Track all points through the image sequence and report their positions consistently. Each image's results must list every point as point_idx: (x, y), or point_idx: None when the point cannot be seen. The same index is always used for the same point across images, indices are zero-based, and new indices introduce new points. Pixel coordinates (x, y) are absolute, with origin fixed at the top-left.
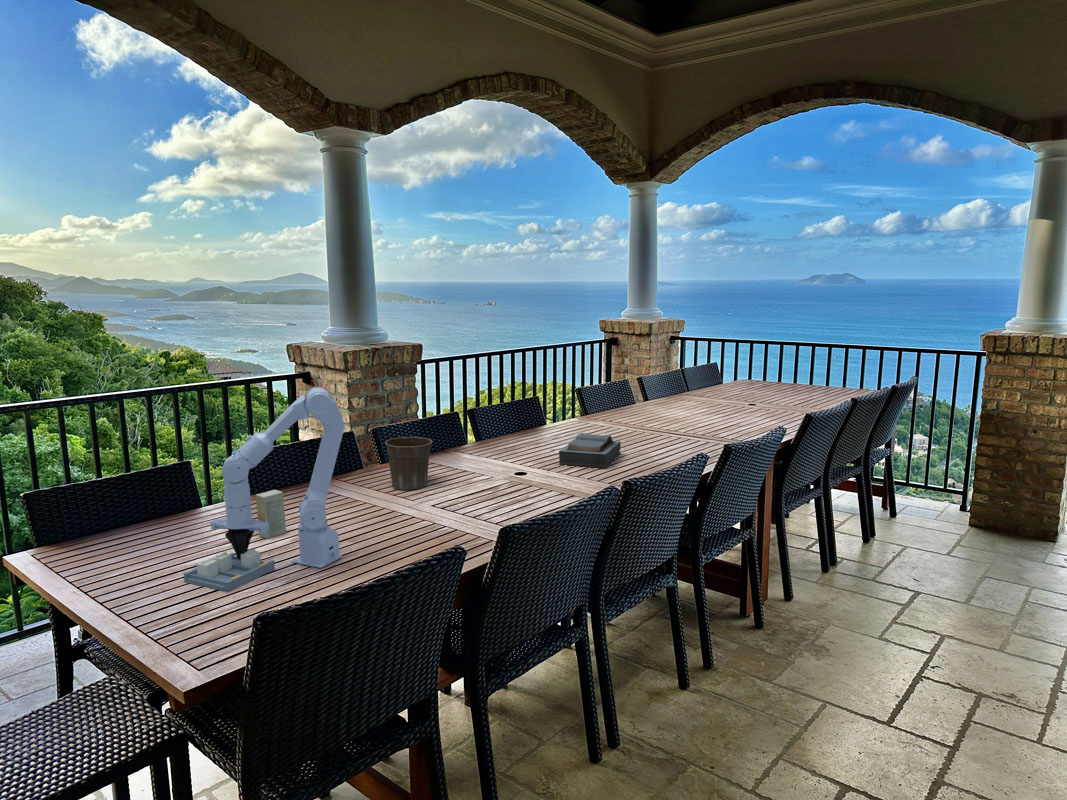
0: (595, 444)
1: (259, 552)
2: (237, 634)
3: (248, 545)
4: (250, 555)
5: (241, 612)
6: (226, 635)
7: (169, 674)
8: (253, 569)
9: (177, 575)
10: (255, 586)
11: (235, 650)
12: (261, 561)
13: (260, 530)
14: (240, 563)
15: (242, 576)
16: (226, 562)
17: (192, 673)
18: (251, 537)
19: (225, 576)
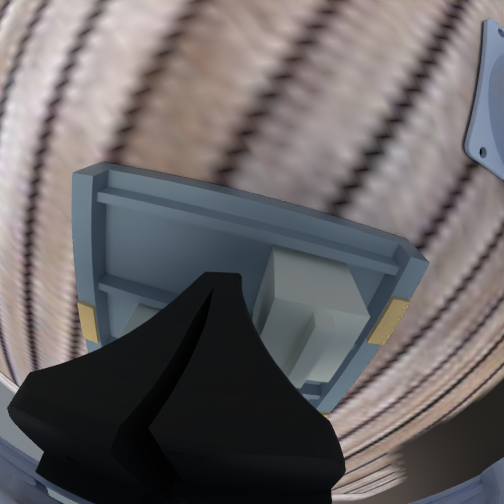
0: None
1: (367, 319)
2: (386, 469)
3: (249, 319)
4: (326, 373)
5: (375, 449)
6: (371, 474)
7: (334, 499)
8: (355, 369)
9: (51, 328)
10: (374, 381)
11: (391, 478)
12: (348, 256)
13: (449, 497)
14: (200, 248)
15: (330, 408)
16: None
17: (357, 495)
18: (278, 366)
19: None
